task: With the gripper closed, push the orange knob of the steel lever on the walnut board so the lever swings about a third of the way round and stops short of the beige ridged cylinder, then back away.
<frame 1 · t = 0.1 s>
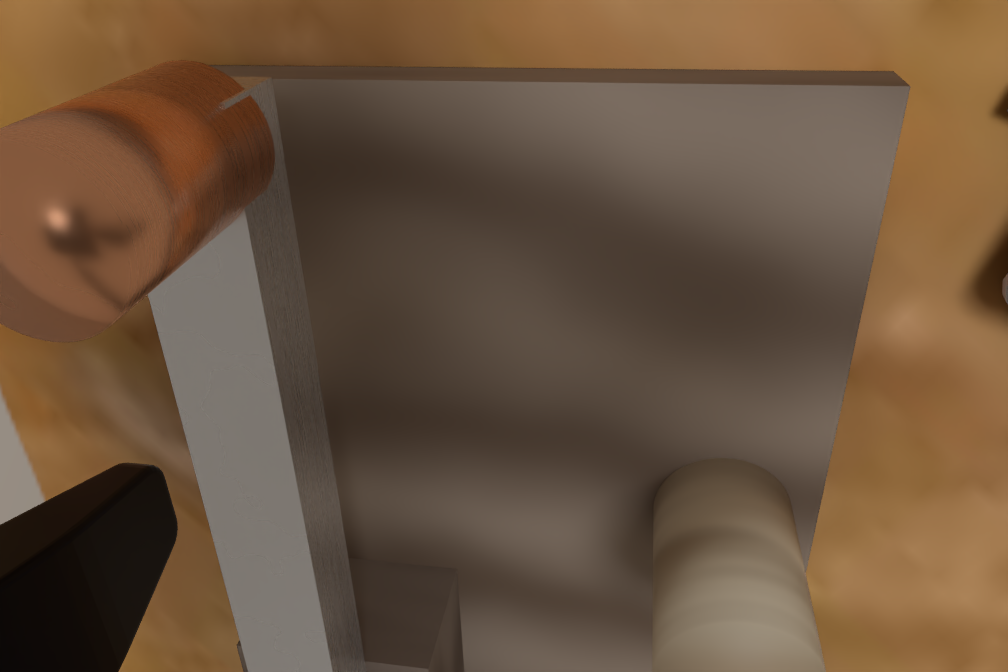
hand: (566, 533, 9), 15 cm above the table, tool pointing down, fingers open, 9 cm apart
lever: (248, 598, 19), point 9 cm above the table, hinge at 0.0°
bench: (520, 425, 26), on the table
beige ridged cylinder: (721, 511, 25), point 1 cm above the table, touching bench
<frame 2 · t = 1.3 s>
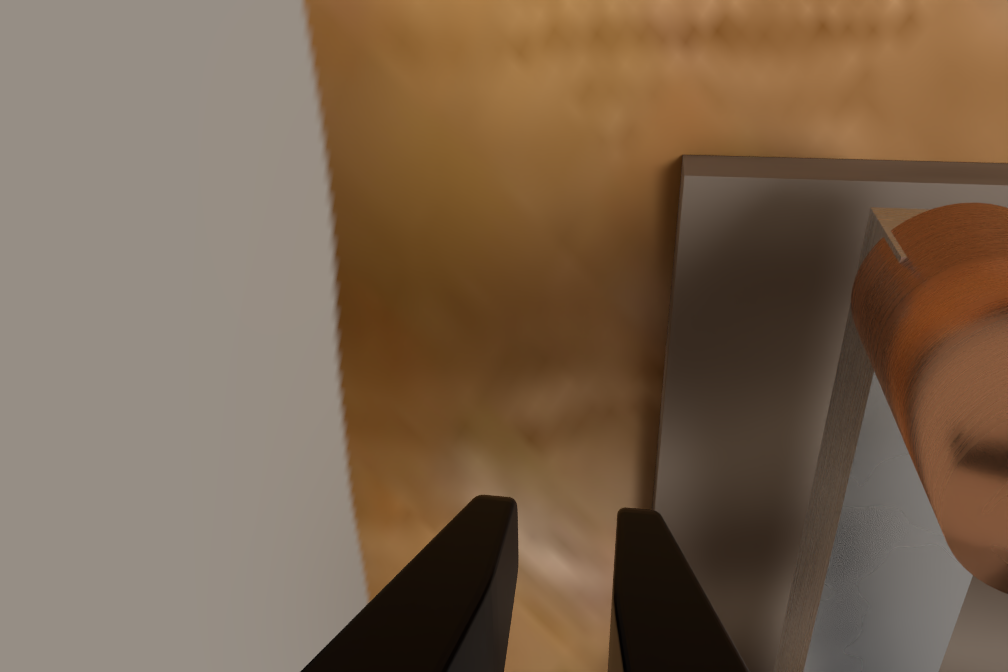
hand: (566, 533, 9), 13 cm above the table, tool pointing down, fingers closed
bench: (971, 540, 24), on the table
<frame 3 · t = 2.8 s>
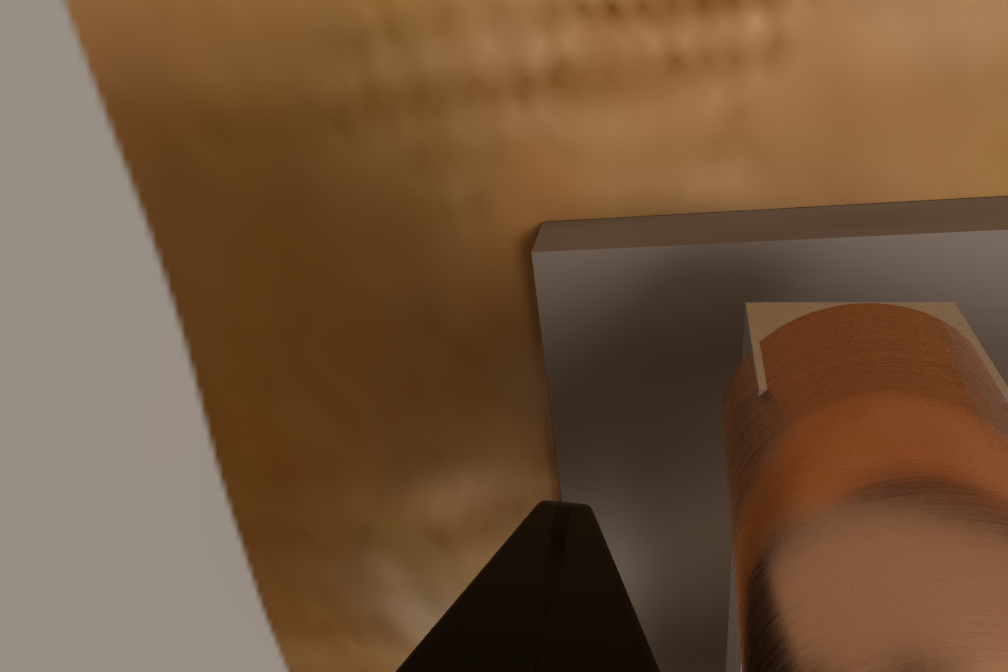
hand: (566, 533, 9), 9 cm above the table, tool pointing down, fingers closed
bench: (960, 631, 20), on the table
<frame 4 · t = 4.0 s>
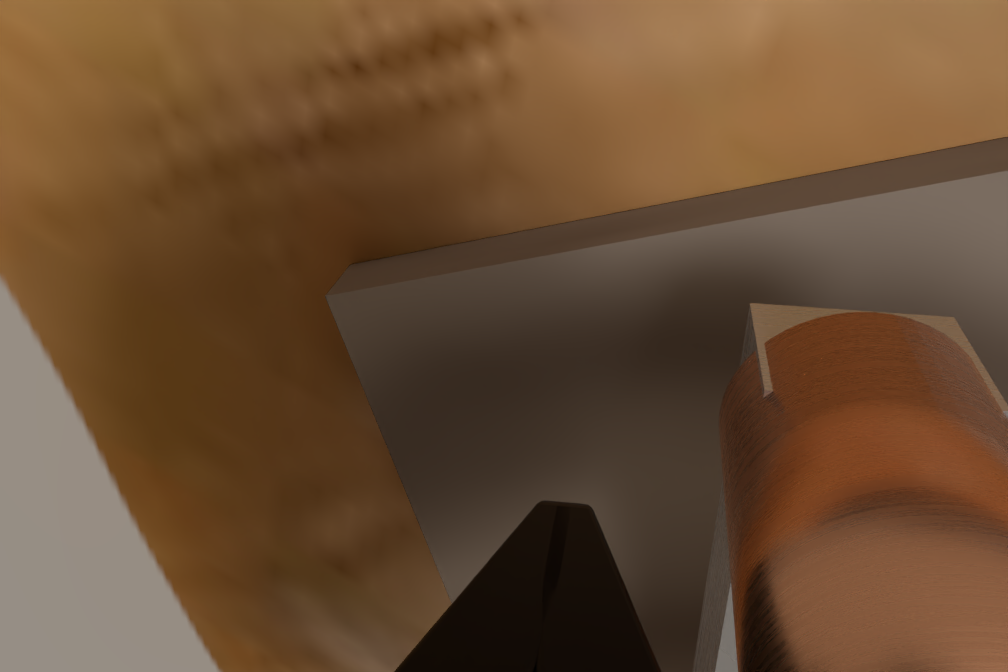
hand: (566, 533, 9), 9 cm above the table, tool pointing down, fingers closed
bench: (836, 603, 20), on the table
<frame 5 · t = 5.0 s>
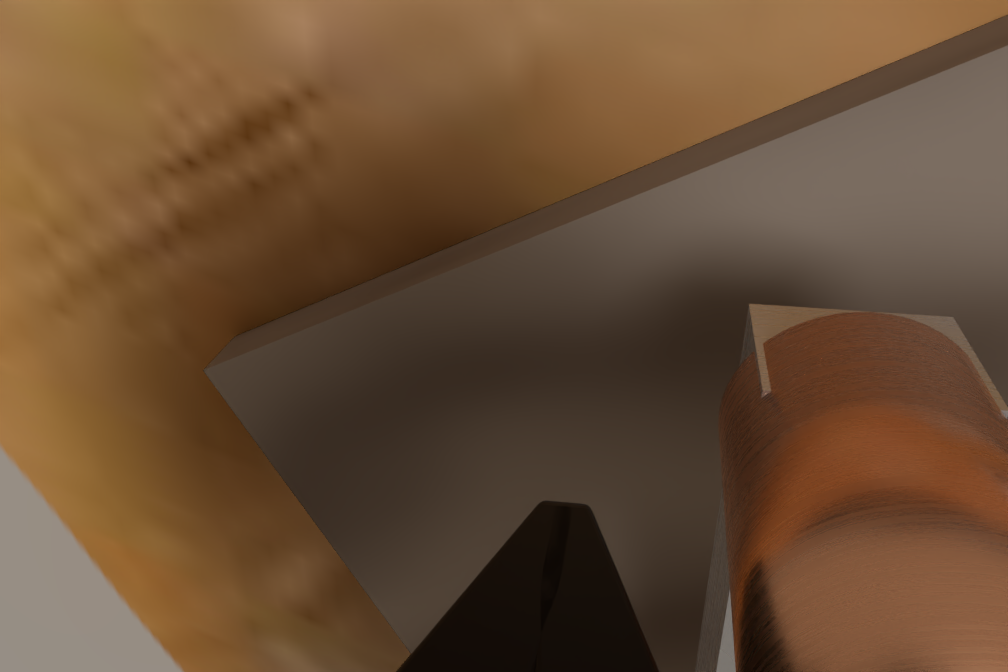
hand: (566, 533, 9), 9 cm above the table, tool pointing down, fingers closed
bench: (766, 585, 20), on the table
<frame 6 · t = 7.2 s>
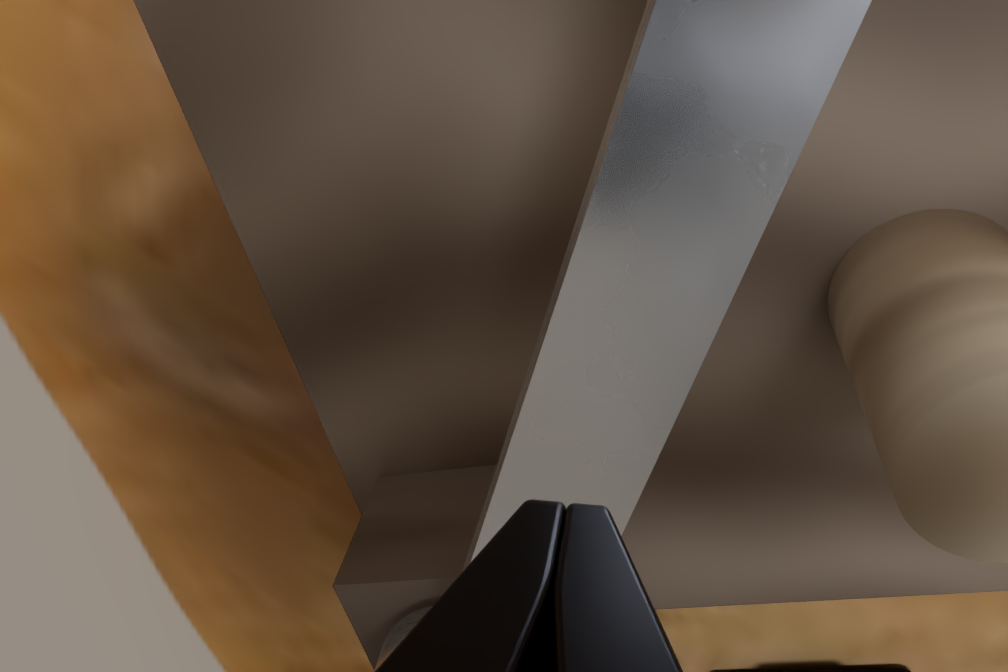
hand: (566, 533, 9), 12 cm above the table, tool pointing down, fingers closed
lever: (574, 501, 13), point 9 cm above the table, hinge at -28.6°
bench: (629, 250, 20), on the table
beige ridged cylinder: (923, 293, 18), point 1 cm above the table, touching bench
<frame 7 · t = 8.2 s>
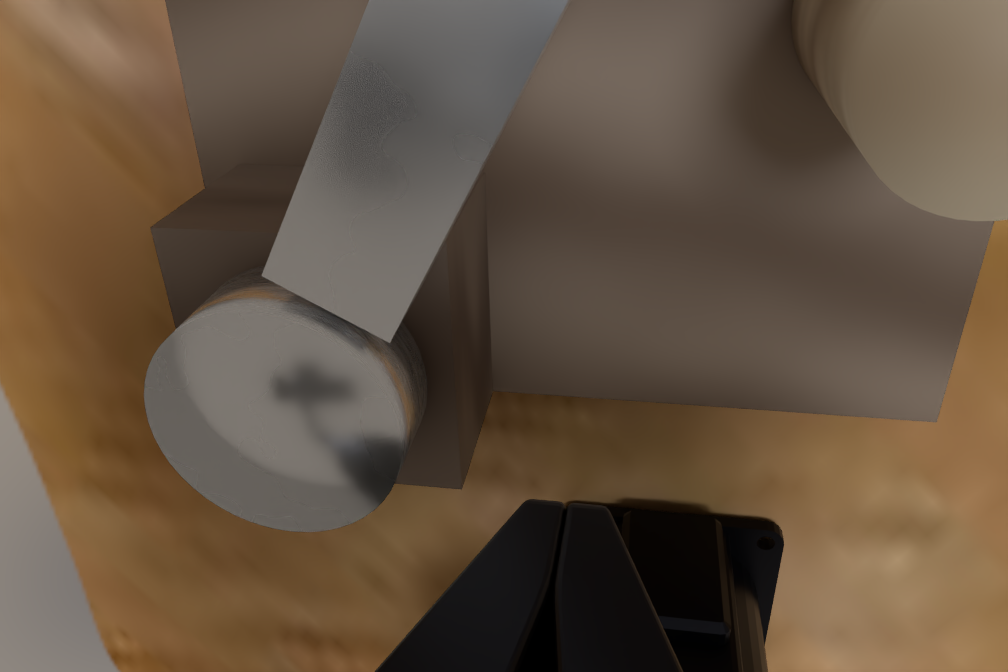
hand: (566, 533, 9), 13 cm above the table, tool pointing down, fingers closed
beige ridged cylinder: (900, 7, 16), point 1 cm above the table, touching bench
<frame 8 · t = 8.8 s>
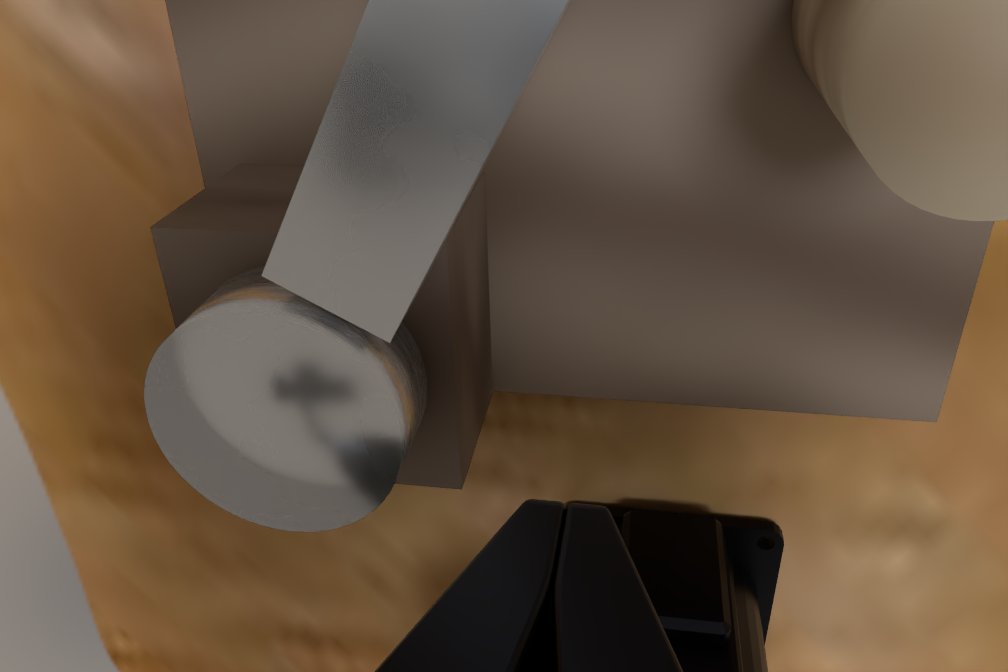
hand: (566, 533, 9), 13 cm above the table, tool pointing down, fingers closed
beige ridged cylinder: (900, 7, 16), point 1 cm above the table, touching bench
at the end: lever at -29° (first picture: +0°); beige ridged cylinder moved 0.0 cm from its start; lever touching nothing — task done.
